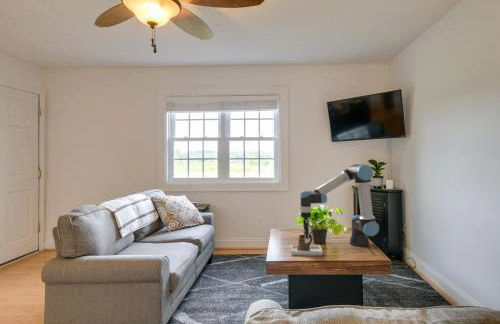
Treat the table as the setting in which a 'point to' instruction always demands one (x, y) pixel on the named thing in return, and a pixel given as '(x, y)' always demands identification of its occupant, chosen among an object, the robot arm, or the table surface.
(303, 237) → the wooden mug
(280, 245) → the table surface
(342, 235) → the table surface
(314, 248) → the tray
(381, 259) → the table surface
